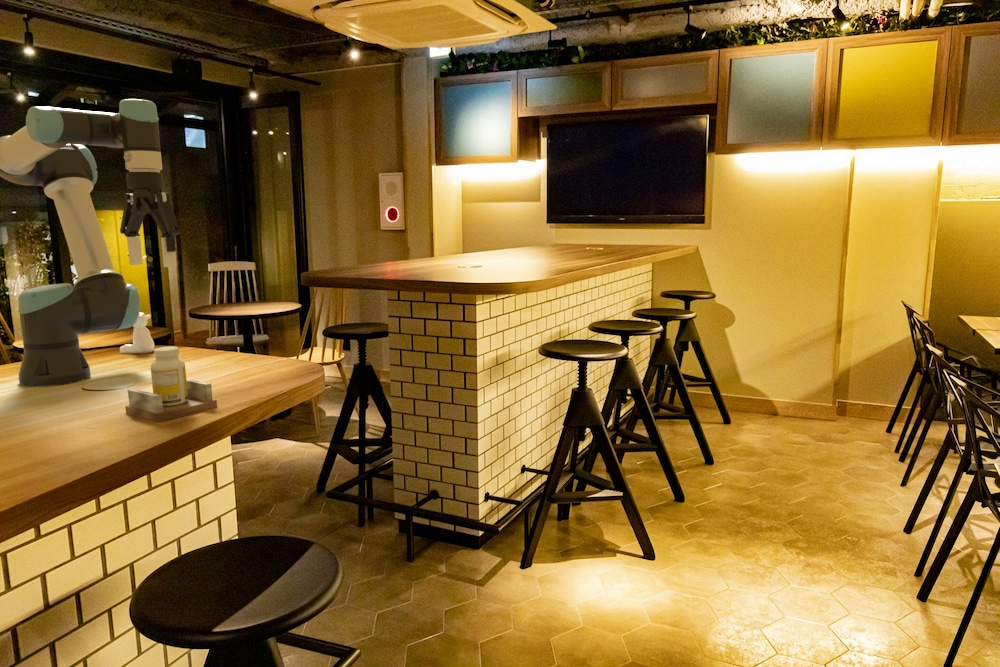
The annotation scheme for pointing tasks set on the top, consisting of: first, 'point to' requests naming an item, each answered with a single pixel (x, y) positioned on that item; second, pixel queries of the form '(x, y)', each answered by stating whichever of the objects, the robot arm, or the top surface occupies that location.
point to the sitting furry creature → (140, 337)
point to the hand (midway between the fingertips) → (152, 265)
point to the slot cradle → (154, 410)
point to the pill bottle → (169, 376)
